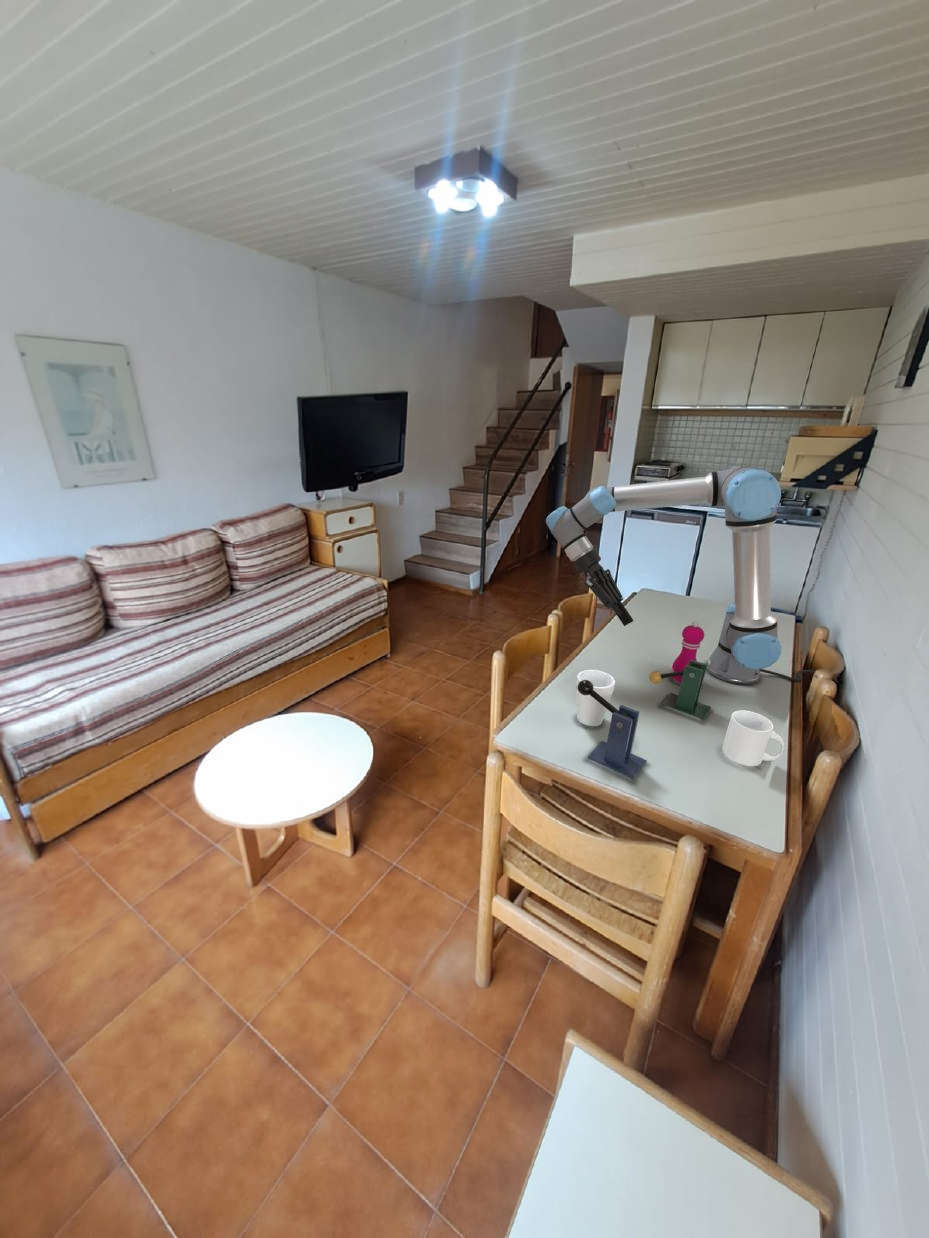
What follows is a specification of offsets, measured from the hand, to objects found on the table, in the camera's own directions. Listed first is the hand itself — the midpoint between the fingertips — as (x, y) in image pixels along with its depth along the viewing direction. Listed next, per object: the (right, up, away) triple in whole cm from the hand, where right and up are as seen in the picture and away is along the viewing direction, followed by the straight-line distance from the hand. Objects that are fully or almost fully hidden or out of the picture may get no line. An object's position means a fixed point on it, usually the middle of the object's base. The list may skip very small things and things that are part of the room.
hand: (629, 623), depth 141 cm
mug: (+21, -33, -24) cm, 45 cm away
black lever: (-16, -19, -28) cm, 37 cm away
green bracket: (+15, -24, -4) cm, 28 cm away
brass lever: (+12, -16, -5) cm, 20 cm away
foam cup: (-14, -26, -11) cm, 32 cm away
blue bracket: (-12, -32, -26) cm, 43 cm away
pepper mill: (+20, -18, +11) cm, 29 cm away
